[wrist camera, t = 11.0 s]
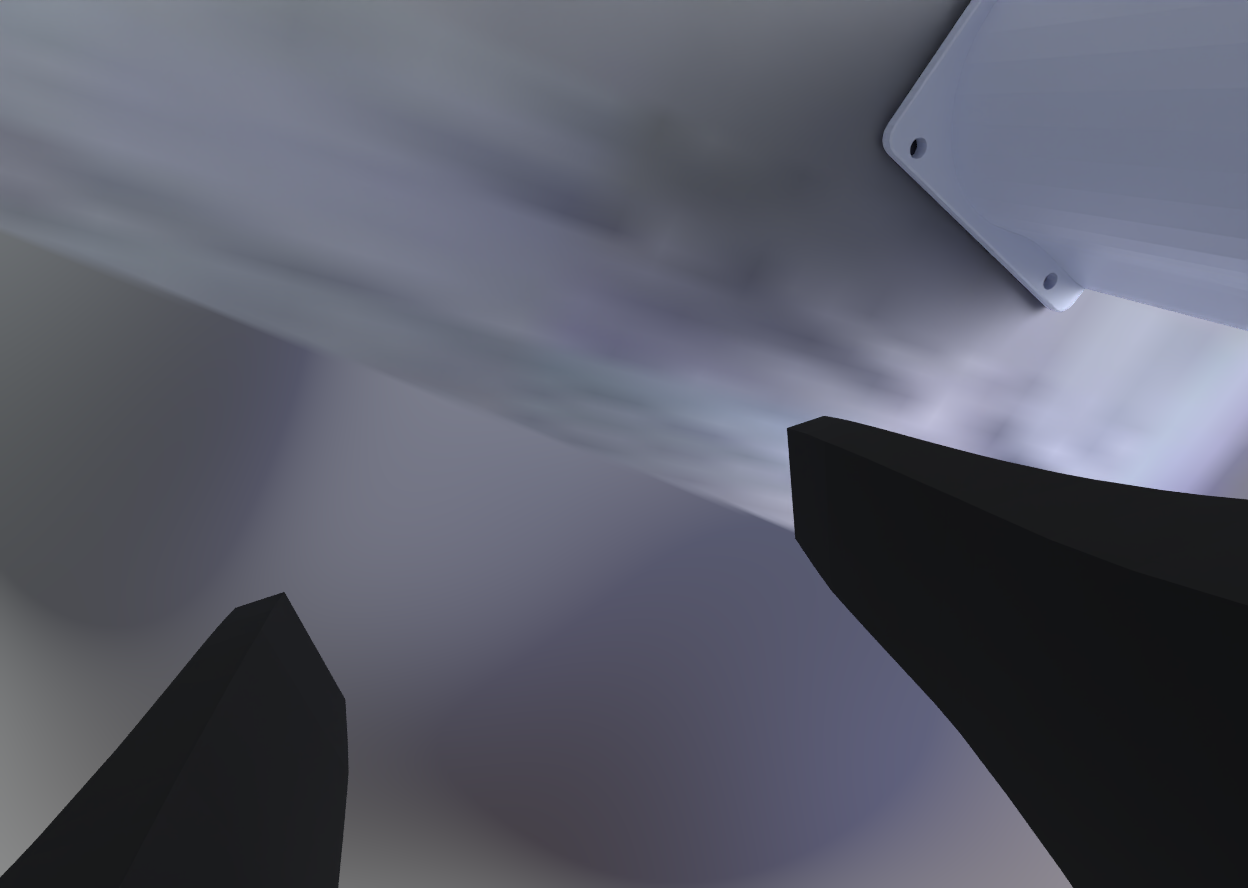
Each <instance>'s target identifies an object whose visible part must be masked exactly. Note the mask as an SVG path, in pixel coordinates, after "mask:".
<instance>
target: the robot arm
mask: <svg viewBox="0 0 1248 888" xmlns="http://www.w3.org/2000/svg"><path fill="white" fill-rule="evenodd" d="M915 139H916V141H917V149H916V151H915V153H914V154H913V155H912V156H911V154H910V147H911V144H912V142H913V141H914V140H915ZM882 141H883V147H884V149H885V151H886V152H887V154H888V155H889V156H890V157H891V158H892V159H893V160H894V161H896V162H897V163H898V164H899V165H900V166H901V167H902V168H903V169H904V170H905V171H906V172H907V173H908V174H909V175H910V176H911V177H912V178H913V179H914V180H915V181H916V182H917V183H918V184H919V185H920V186H921V187H922V188H923V189H924V190H925V191H927V192H928V193H929V194H930V195H931V196H932V197H933V198H934V199H935V200H936V201H937V202H938V203H939V204H940V205H941V206H942V207H943V208H944V209H945V210H946V211H947V212H948V213H949V214H950V215H951V216H952V217H953V218H954V219H955V220H956V221H958V222H959V223H960V224H961V225H962V226H963V227H964V228H965V229H966V230H967V231H968V232H969V233H970V234H971V235H972V236H973V237H974V238H975V239H976V240H977V241H978V242H979V243H980V244H981V245H982V246H983V247H984V248H985V249H986V250H987V251H989V252H990V253H991V254H992V255H993V256H994V257H995V258H996V259H997V260H998V261H999V262H1000V263H1001V264H1002V265H1003V266H1004V267H1005V268H1006V269H1007V270H1008V271H1009V272H1010V273H1011V274H1012V275H1013V276H1014V277H1015V278H1016V279H1017V280H1018V281H1020V282H1021V283H1022V284H1023V285H1024V286H1025V287H1026V288H1027V289H1028V290H1029V291H1030V292H1031V293H1032V294H1033V295H1034V296H1035V297H1036V298H1037V299H1038V300H1039V301H1040V302H1041V303H1042V304H1043V305H1044V306H1045V307H1046V308H1048V309H1050V310H1053V311H1057V312H1063V311H1065V310H1067V309H1068V308H1069V307H1070V306H1071V305H1072V304H1073V303H1074V302H1075V301H1076V299H1077V298H1078V297H1079V296H1080V294H1081V293H1082V292H1083V291H1084V289H1085V288H1086V289H1090V290H1093V291H1097V292H1101V293H1105V294H1109V295H1113V296H1116V297H1120V298H1124V299H1128V300H1132V301H1136V302H1139V303H1143V304H1147V305H1151V306H1155V307H1158V308H1162V309H1166V310H1170V311H1174V312H1178V313H1181V314H1185V315H1189V316H1193V317H1197V318H1200V319H1204V320H1208V321H1212V322H1216V323H1220V324H1223V325H1227V326H1231V327H1235V328H1239V329H1243V330H1246V331H1248V0H971V2H970V3H969V5H968V6H967V8H966V9H965V11H964V12H963V14H962V15H961V17H960V18H959V20H958V21H957V22H956V24H955V25H954V27H953V28H952V30H951V31H950V33H949V34H948V36H947V37H946V39H945V40H944V42H943V43H942V45H941V46H940V48H939V49H938V51H937V52H936V54H935V55H934V56H933V58H932V59H931V61H930V62H929V64H928V65H927V67H926V68H925V70H924V71H923V73H922V74H921V76H920V77H919V79H918V80H917V82H916V83H915V85H914V86H913V88H912V89H911V90H910V92H909V93H908V95H907V96H906V98H905V99H904V101H903V102H902V104H901V105H900V107H899V108H898V110H897V111H896V113H895V114H894V116H893V117H892V119H891V120H890V122H889V123H888V125H887V126H886V129H885V131H884V133H883V140H882ZM1046 277H1047V279H1046V281H1045V283H1044V280H1045V278H1046ZM787 435H788V448H789V461H790V475H791V488H792V501H793V514H794V527H795V539H796V540H797V542H798V543H799V544H800V546H801V548H802V549H803V551H804V552H805V554H806V555H807V557H808V558H809V559H810V561H811V562H812V564H813V566H814V567H815V568H816V570H817V571H818V573H819V574H820V575H821V577H822V578H823V580H824V581H825V582H826V584H827V585H828V586H829V588H830V589H831V590H832V592H833V593H834V594H835V595H836V596H837V597H838V598H839V600H840V601H841V602H842V603H843V604H844V605H845V606H846V608H847V609H848V610H849V611H850V612H851V613H852V614H853V615H854V616H855V617H856V619H857V620H858V621H859V622H860V623H861V624H862V625H863V626H864V627H865V628H866V630H868V632H869V633H870V634H871V635H872V636H873V637H874V638H875V639H876V640H877V641H878V643H879V644H880V645H881V646H882V647H883V648H884V649H885V650H886V651H887V652H888V653H889V654H890V656H891V657H892V658H893V659H894V660H895V661H896V662H897V663H898V664H899V665H900V666H901V667H902V669H903V670H904V671H905V672H906V673H907V674H908V675H909V676H910V677H911V678H912V679H913V680H914V682H915V683H916V684H917V685H918V686H919V687H920V688H921V689H922V690H923V691H924V692H925V693H926V694H927V696H928V697H929V698H930V699H931V700H932V701H933V702H934V703H935V704H936V705H937V707H938V708H939V709H940V710H941V711H942V712H943V714H944V715H945V716H946V717H947V718H948V719H949V721H950V722H951V723H952V724H953V725H954V727H955V728H956V729H957V730H958V731H959V732H960V734H961V735H962V736H963V738H964V739H965V740H966V742H967V743H968V744H969V745H970V747H971V748H972V749H973V751H974V752H975V753H976V755H977V756H978V757H979V759H980V760H981V761H982V763H983V764H984V765H985V767H986V768H987V769H988V771H989V772H990V773H991V774H992V776H993V777H994V778H995V780H996V781H997V782H998V784H999V785H1000V786H1001V788H1002V789H1003V790H1004V792H1005V793H1006V794H1007V796H1008V797H1009V798H1010V800H1011V801H1012V802H1013V804H1014V805H1015V807H1016V808H1017V809H1018V811H1019V812H1020V814H1021V815H1022V816H1023V818H1024V819H1025V820H1026V822H1027V823H1028V825H1029V826H1030V827H1031V829H1032V830H1033V831H1034V833H1035V834H1036V836H1037V837H1038V839H1039V840H1040V841H1041V843H1042V844H1043V846H1044V847H1045V848H1046V850H1047V851H1048V852H1049V854H1050V855H1051V857H1052V858H1053V859H1054V861H1055V862H1056V864H1057V865H1058V866H1059V868H1060V869H1061V871H1062V872H1063V873H1064V875H1065V876H1066V878H1067V879H1068V880H1069V882H1070V884H1071V885H1072V887H1073V888H1248V500H1246V499H1236V498H1226V497H1216V496H1205V495H1197V494H1189V493H1181V492H1173V491H1165V490H1158V489H1151V488H1145V487H1138V486H1132V485H1126V484H1119V483H1113V482H1106V481H1100V480H1094V479H1088V478H1083V477H1077V476H1072V475H1067V474H1062V473H1057V472H1052V471H1047V470H1043V469H1038V468H1034V467H1029V466H1025V465H1020V464H1015V463H1011V462H1006V461H1002V460H998V459H994V458H990V457H985V456H981V455H977V454H973V453H969V452H965V451H962V450H958V449H954V448H950V447H946V446H942V445H939V444H935V443H931V442H927V441H924V440H920V439H916V438H913V437H909V436H905V435H902V434H898V433H894V432H891V431H887V430H883V429H880V428H876V427H872V426H868V425H864V424H860V423H856V422H852V421H848V420H843V419H839V418H833V417H828V416H822V417H819V418H816V419H813V420H810V421H807V422H804V423H801V424H798V425H795V426H792V427H789V428H787ZM346 722H347V721H346V704H345V698H344V696H343V695H342V693H341V691H340V689H339V688H338V686H337V684H336V682H335V681H334V679H333V677H332V676H331V674H330V672H329V670H328V668H327V667H326V665H325V663H324V661H323V660H322V658H321V656H320V654H319V652H318V651H317V649H316V647H315V645H314V644H313V642H312V640H311V638H310V636H309V635H308V633H307V631H306V629H305V628H304V626H303V624H302V622H301V621H300V619H299V617H298V615H297V614H296V612H295V610H294V608H293V607H292V605H291V603H290V601H289V599H288V598H287V596H286V594H285V593H284V592H283V593H280V594H277V595H274V596H271V597H267V598H264V599H261V600H258V601H255V602H252V603H249V604H246V605H243V606H240V607H237V608H235V609H234V610H233V611H232V612H231V613H230V614H229V615H228V616H227V617H226V619H224V621H223V622H222V623H221V624H220V625H219V626H218V627H217V628H216V630H215V631H214V632H213V633H212V634H211V636H210V637H209V638H208V639H207V640H206V642H205V643H204V644H203V645H202V646H201V647H200V649H199V650H198V651H197V652H196V654H195V655H194V656H193V657H192V658H191V660H190V661H189V662H188V663H187V665H186V666H185V667H184V668H183V670H182V671H181V672H180V673H179V674H178V676H177V677H176V678H175V679H174V680H173V682H172V683H171V684H170V685H169V687H168V688H167V689H166V690H165V691H164V693H163V694H162V695H161V696H160V697H159V699H158V700H157V701H156V702H155V704H154V705H153V706H152V707H151V708H150V710H149V711H148V712H147V713H146V714H145V716H144V717H143V718H142V719H141V721H140V722H139V723H138V724H137V725H136V726H135V728H134V729H133V730H132V731H131V732H130V734H129V735H128V736H127V737H126V739H125V740H124V741H123V742H122V743H121V744H120V746H119V747H118V748H117V749H116V751H114V753H113V754H112V755H111V756H110V757H109V758H108V759H107V760H106V762H105V763H104V764H103V765H102V766H101V767H100V768H99V769H98V771H97V772H96V773H95V774H94V775H93V776H92V777H91V778H90V780H89V781H88V782H87V783H86V784H85V785H84V786H83V788H82V789H81V790H80V791H79V792H78V793H77V794H76V795H75V797H74V798H73V799H72V800H71V801H70V802H69V803H68V804H67V806H66V807H65V808H64V809H63V810H62V811H61V812H60V813H59V815H58V816H57V817H56V818H55V819H54V820H53V821H52V823H51V824H50V825H49V826H48V827H47V828H46V829H45V830H44V832H43V833H42V834H41V835H40V836H39V837H38V838H37V839H36V840H35V841H34V842H33V844H32V845H31V846H30V847H29V848H28V849H27V850H26V851H25V852H24V853H23V854H22V855H21V856H20V857H19V859H18V860H17V861H16V862H15V863H14V864H13V865H12V866H11V867H10V868H9V869H8V870H7V871H6V872H5V873H4V874H3V875H2V876H1V877H0V888H338V882H339V873H340V862H341V852H342V842H343V830H344V820H345V809H346V797H347V785H348V741H347V740H348V739H347V723H346Z"/></svg>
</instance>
